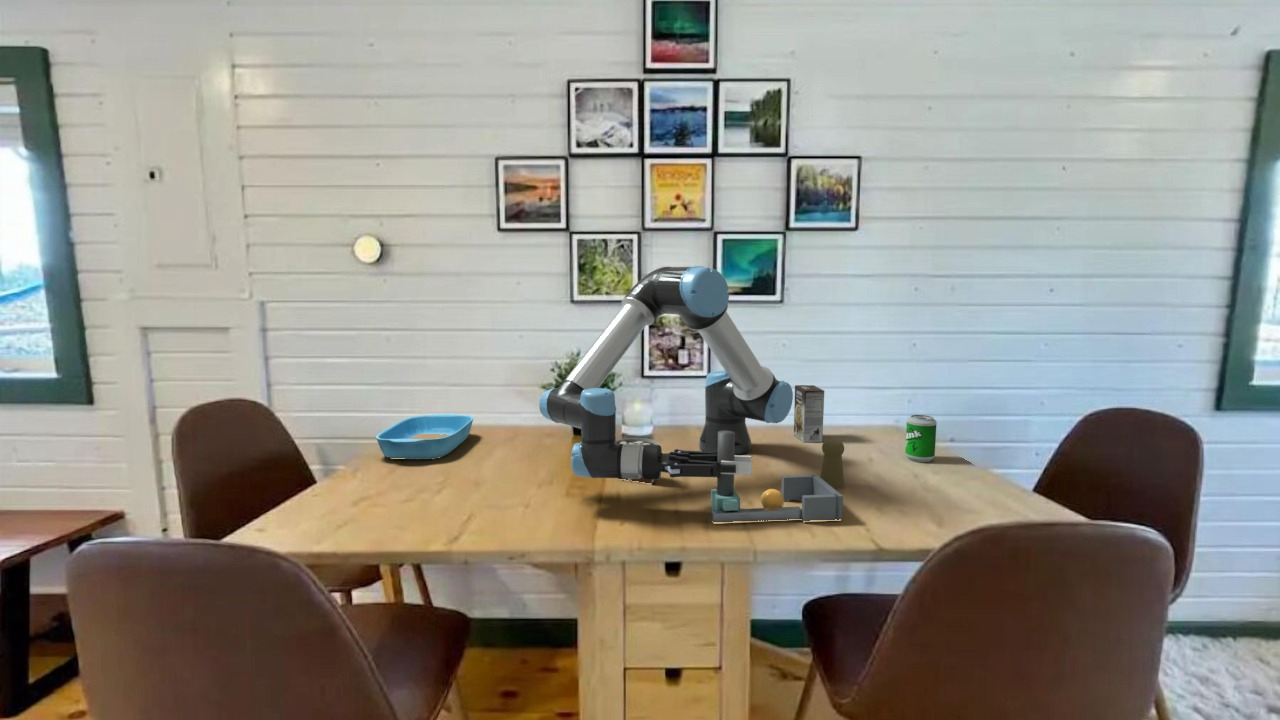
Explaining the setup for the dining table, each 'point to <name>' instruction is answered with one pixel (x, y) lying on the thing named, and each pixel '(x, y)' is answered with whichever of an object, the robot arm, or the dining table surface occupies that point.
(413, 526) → the dining table surface
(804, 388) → the coffee box
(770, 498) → the ball
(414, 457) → the casserole dish
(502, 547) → the dining table surface
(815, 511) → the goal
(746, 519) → the rail
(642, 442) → the food container
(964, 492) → the dining table surface
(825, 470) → the olive pawn figure
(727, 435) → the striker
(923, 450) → the soda can
